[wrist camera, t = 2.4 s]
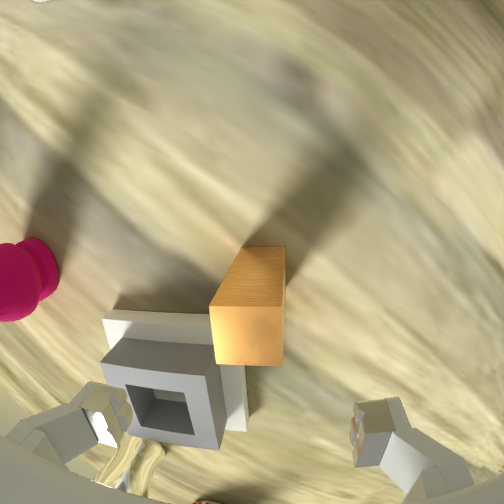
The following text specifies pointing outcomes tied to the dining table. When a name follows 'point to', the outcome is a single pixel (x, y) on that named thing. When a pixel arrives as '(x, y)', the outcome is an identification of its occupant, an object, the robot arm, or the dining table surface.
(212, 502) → the soda can
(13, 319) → the pepper mill
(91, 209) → the dining table surface
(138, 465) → the clear waisted cup
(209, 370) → the socket
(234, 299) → the pin
